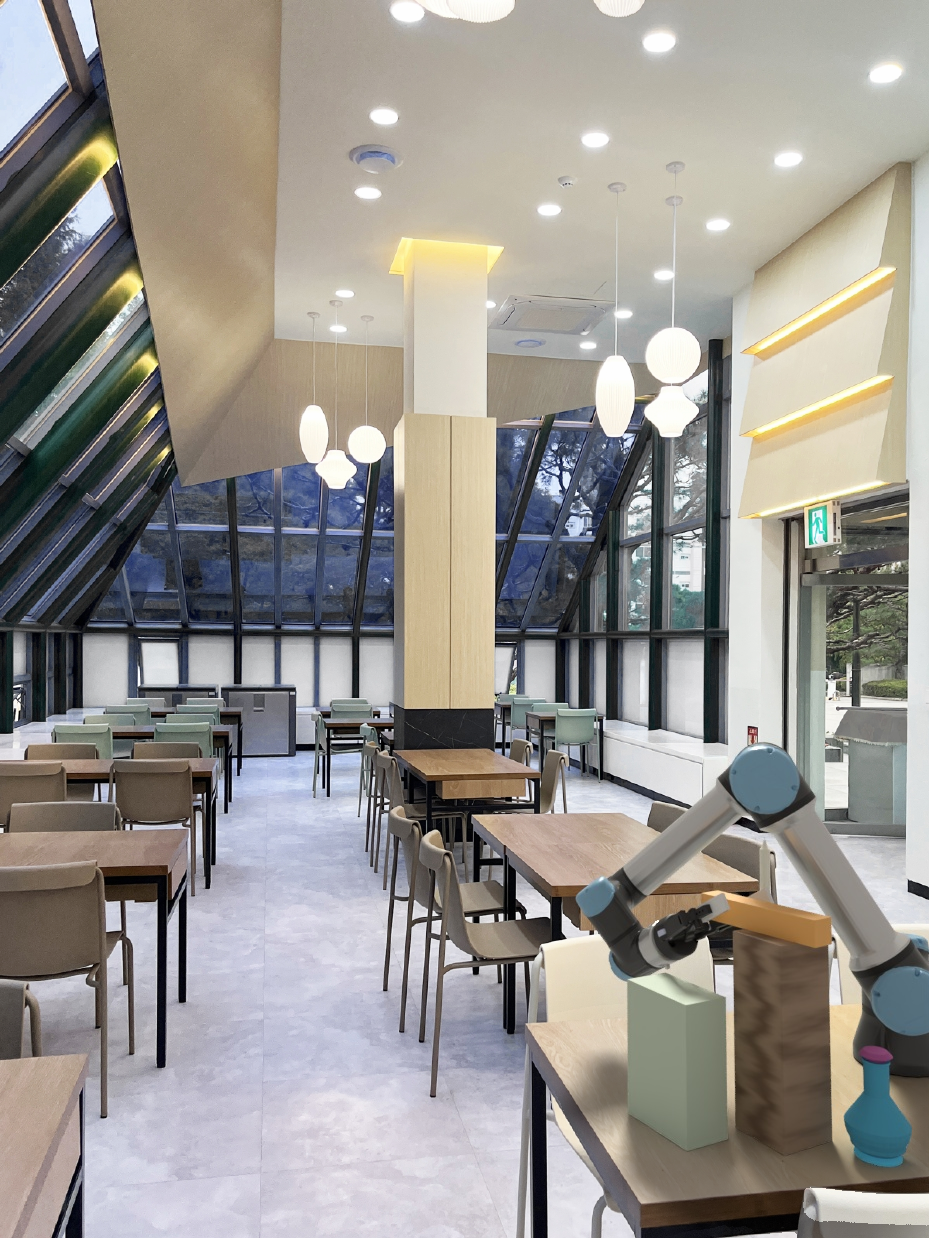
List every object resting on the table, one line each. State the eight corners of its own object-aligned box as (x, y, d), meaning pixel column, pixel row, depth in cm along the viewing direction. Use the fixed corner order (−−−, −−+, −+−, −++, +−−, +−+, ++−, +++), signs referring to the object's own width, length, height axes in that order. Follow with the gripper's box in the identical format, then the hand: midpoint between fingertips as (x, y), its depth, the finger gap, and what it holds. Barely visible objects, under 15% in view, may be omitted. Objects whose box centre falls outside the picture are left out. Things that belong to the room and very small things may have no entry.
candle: (769, 1032, 186) (766, 842, 189) (731, 1017, 194) (729, 835, 197) (803, 1023, 191) (800, 838, 194) (765, 1009, 199) (762, 832, 202)
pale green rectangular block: (627, 1112, 150) (627, 979, 151) (666, 1102, 154) (665, 972, 155) (687, 1151, 138) (685, 1005, 139) (727, 1139, 141) (725, 997, 143)
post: (735, 1126, 145) (732, 930, 148) (781, 1113, 150) (778, 923, 152) (784, 1155, 136) (781, 946, 139) (832, 1140, 141) (828, 938, 143)
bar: (701, 917, 156) (701, 892, 157) (717, 914, 158) (717, 890, 159) (815, 947, 138) (814, 920, 138) (831, 943, 140) (831, 916, 141)
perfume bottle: (912, 1148, 139) (909, 1044, 140) (913, 1177, 131) (910, 1066, 132) (845, 1135, 143) (843, 1034, 144) (842, 1162, 135) (840, 1055, 136)
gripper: (722, 953, 171) (804, 913, 155) (627, 969, 161) (705, 928, 145) (707, 913, 175) (786, 870, 159) (614, 925, 165) (688, 881, 148)
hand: (747, 898), depth 152 cm, fingers open, 9 cm apart
